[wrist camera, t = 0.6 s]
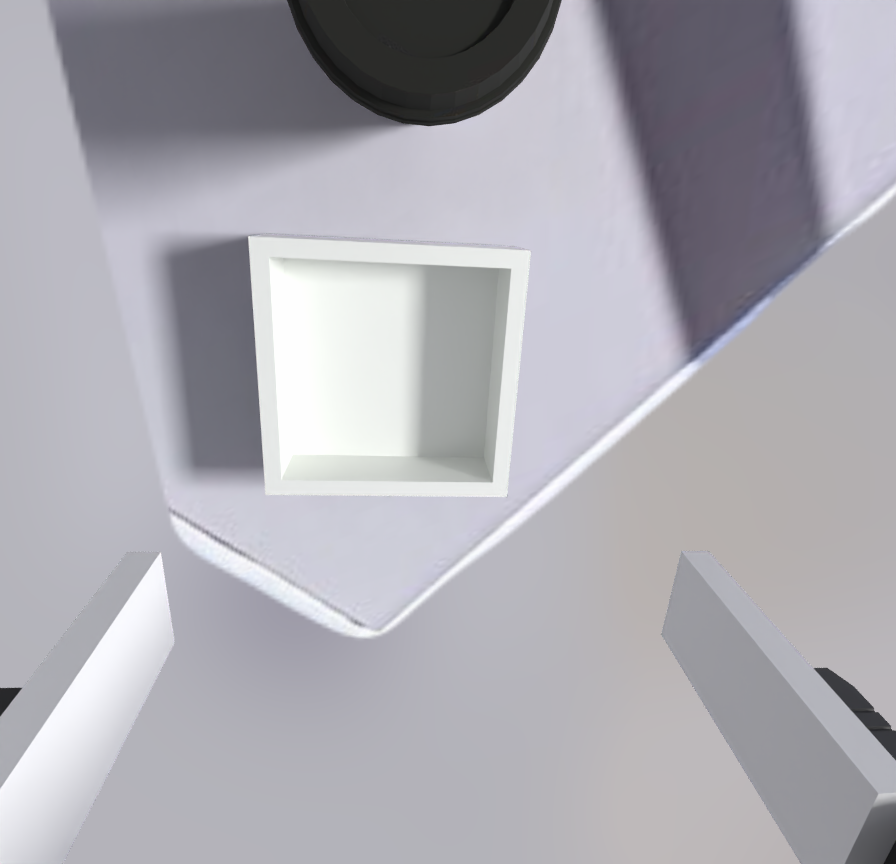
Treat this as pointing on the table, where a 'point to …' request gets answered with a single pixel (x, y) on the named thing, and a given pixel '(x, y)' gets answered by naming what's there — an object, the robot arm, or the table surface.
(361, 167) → the table surface
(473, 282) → the bin
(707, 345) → the table surface
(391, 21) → the coffee cup
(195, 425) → the table surface
